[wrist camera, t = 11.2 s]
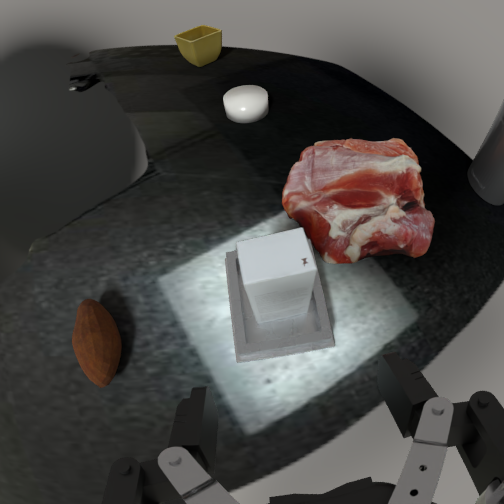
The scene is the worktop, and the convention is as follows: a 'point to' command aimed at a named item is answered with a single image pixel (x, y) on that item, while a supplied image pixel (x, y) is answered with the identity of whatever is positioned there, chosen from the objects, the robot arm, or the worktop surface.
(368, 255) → the meat
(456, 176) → the worktop surface
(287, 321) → the tray
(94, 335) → the potato
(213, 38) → the flower pot
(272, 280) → the skincare box
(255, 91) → the white domed puck
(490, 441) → the robot arm
